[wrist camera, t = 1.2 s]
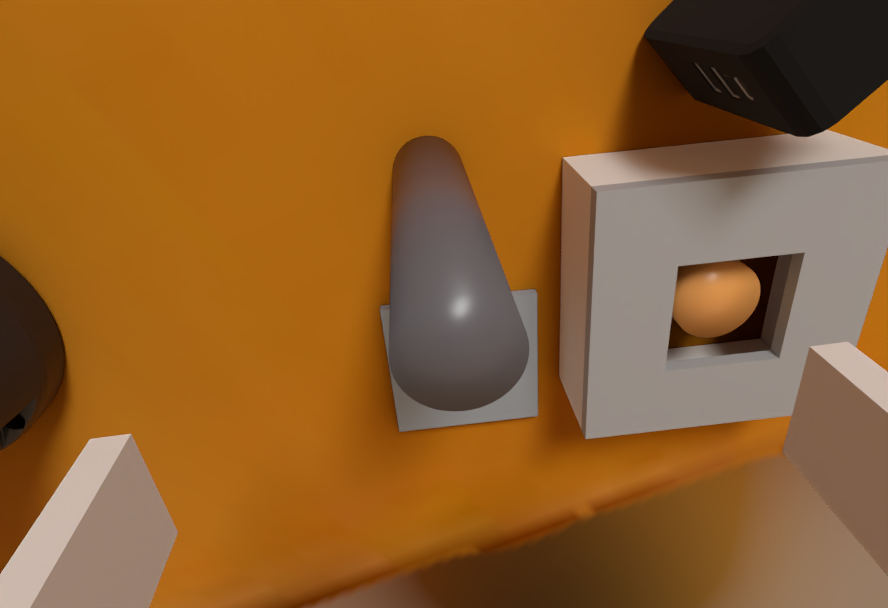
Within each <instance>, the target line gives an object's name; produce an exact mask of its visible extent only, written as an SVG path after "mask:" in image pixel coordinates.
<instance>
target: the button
mask: <svg viewBox="0 0 888 608" xmlns="http://www.w3.org/2000/svg"><path fill="white" fill-rule="evenodd" d="M759 298H760V282H759V280H758V277H757V276H756V274H755V273H754V272H753V271H752V270H751V269H750V268H749V267H748V266H746V265H745V264H744V263H742V262H741V261H740V260H731V261H722V262H713V263H703V264H694V265H685V266H678V272H677V280H676V288H675V296H674V304H673V312H672V317H673V319H674V320H675V321H676V322H677V323H678V325H679V326H680V327H681V328H682V329H683V330H684V331H685V332H687V333H688V334H690V335H693V336H696V337H701V338H712V337H718V336H721V335H724V334H727V333H729V332H731V331H733V330H734V329H736V328H738V327H739V326H740V325H742V324H743V323H744V322H745V321H746V320H747V319H748V318H749V317H750V316H751V314H752V313H753V311H754V310H755V308H756V306H757V304H758V301H759Z"/></svg>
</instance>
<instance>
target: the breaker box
mask: <svg viewBox="0 0 888 608" xmlns="http://www.w3.org/2000/svg"><path fill="white" fill-rule="evenodd" d="M887 247H888V149H885V148H882V147H879V146H876V145H873V144H870V143H867V142H864V141H861V140H858V139H855V138H851V137H848V136H845V135H842V134H839V133H836V132H833V131H830V130H825V131H824V132H821V133H818V134H816V135H813V136H810V137H796V136H793V135H791V134H782V135H773V136H763V137H754V138H744V139H735V140H725V141H715V142H706V143H696V144H687V145H677V146H667V147H658V148H648V149H639V150H629V151H619V152H610V153H600V154H591V155H581V156H572V157H563V163H562V226H561V290H560V354H559V378H560V380H561V382H562V385H563V387H564V389H565V392H566V394H567V397H568V399H569V401H570V404H571V406H572V408H573V411H574V413H575V416H576V418H577V420H578V423H579V425H580V427H581V430H582V432H583V435H584V437H585V439H592V438H601V437H609V436H618V435H627V434H635V433H644V432H653V431H661V430H670V429H679V428H687V427H696V426H705V425H713V424H722V423H730V422H739V421H748V420H756V419H765V418H774V417H782V416H791V415H792V413H793V409H794V405H795V401H796V397H797V393H798V390H799V386H800V382H801V378H802V374H803V370H804V366H805V363H806V359H807V355H808V351H809V347H810V346H818V345H825V344H833V343H841V342H849V343H850V344H852V345H853V346H854V347H856V345H857V342H858V339H859V336H860V333H861V330H862V326H863V323H864V320H865V317H866V314H867V311H868V307H869V304H870V301H871V298H872V295H873V292H874V288H875V285H876V282H877V279H878V276H879V273H880V269H881V266H882V263H883V260H884V257H885V254H886V250H887ZM777 255H778V259H777V264H776V269H775V273H774V278H773V282H772V287H771V292H770V296H769V301H768V306H767V310H766V315H765V319H764V324H763V329H762V333H761V338H760V339H752V340H743V341H734V342H725V343H716V344H707V345H698V346H690V347H681V348H672V349H668V344H669V336H670V328H671V320H672V312H673V304H674V296H675V288H676V280H677V272H678V266H685V265H694V264H703V263H713V262H722V261H731V260H740V259H749V258H758V257H768V256H777Z"/></svg>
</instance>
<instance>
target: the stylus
mask: <svg viewBox="0 0 888 608" xmlns="http://www.w3.org/2000/svg"><path fill="white" fill-rule="evenodd" d="M528 358H529V340H528V336H527V332H526V330H525V327H524V324H523V322H522V319H521V316H520V314H519V311H518V308H517V306H516V303H515V300H514V298H513V295H512V293H511V290H510V287H509V285H508V282H507V279H506V277H505V274H504V271H503V269H502V266H501V264H500V261H499V258H498V256H497V253H496V250H495V248H494V245H493V242H492V240H491V237H490V235H489V232H488V229H487V227H486V224H485V221H484V219H483V216H482V213H481V211H480V208H479V205H478V203H477V200H476V198H475V195H474V192H473V190H472V187H471V184H470V182H469V179H468V176H467V174H466V171H465V169H464V166H463V163H462V161H461V158H460V156H459V154H458V152H457V150H456V149H455V148H454V147H453V146H452V145H451V144H450V143H449V142H447V141H445V140H444V139H441V138H439V137H435V136H421V137H417V138H415V139H412V140H410V141H409V142H407V143H406V144H405V145H404V146H403V147H402V148H401V149H400V150H399V152H398V153H397V155H396V157H395V160H394V164H393V184H392V227H391V271H390V314H389V365H390V369H391V373H392V375H393V377H394V379H395V381H396V383H397V384H398V386H399V387H400V388H401V389H402V391H403V392H405V393H406V394H407V395H408V396H409V397H410V398H412V399H413V400H415V401H416V402H418V403H420V404H422V405H424V406H427V407H429V408H433V409H437V410H442V411H454V412H457V411H468V410H473V409H477V408H481V407H483V406H486V405H488V404H491V403H493V402H495V401H496V400H498V399H500V398H501V397H503V396H504V395H505V394H506V393H508V392H509V391H510V390H511V389H512V388H513V387H514V386H515V385H516V384H517V382H518V381H519V379H520V378H521V376H522V374H523V373H524V371H525V368H526V366H527V363H528Z"/></svg>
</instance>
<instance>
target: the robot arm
mask: <svg viewBox="0 0 888 608" xmlns="http://www.w3.org/2000/svg"><path fill="white" fill-rule="evenodd" d="M63 371H64V352H63V346H62V342H61V338H60V335H59V332H58V329H57V326H56V324H55V322H54V319H53V317H52V316H51V314H50V312H49V310H48V308H47V307H46V305H45V304H44V302H43V301H42V299H41V298H40V296H39V295H38V294H37V292H36V291H35V290H34V289H33V287H32V286H31V285H30V284H29V283H28V282H27V281H26V279H25V278H24V277H23V276H22V275H21V274H20V273H19V272H18V271H17V270H16V269H14V268H13V267H12V266H11V265H10V264H9V263H8V262H7V261H5V260H4V259H3V258H2V257H0V451H1V450H2V449H4V448H6V447H7V446H9V445H10V444H12V443H13V442H15V441H16V440H17V439H18V438H20V437H21V436H22V435H23V434H24V433H25V432H26V431H27V430H28V429H29V428H30V427H31V426H32V425H33V424H34V423H35V421H36V420H37V419H38V418H39V417H40V415H41V414H42V413H43V412H44V411H45V410H46V408H47V407H48V406H49V405H50V404H51V402H52V401H53V399H54V398H55V396H56V394H57V392H58V390H59V387H60V385H61V381H62V377H63ZM782 452H783V453H784V454H785V455H786V457H787V458H788V459H789V460H790V461H791V462H792V464H793V465H794V466H795V467H796V468H797V470H798V471H799V472H800V473H801V474H802V475H803V477H805V479H806V480H807V481H808V482H809V484H810V485H811V486H812V487H813V488H814V490H815V491H816V492H817V493H818V494H819V495H820V496H821V498H822V499H823V500H824V501H825V503H826V504H827V505H828V506H829V507H830V508H831V510H832V511H833V512H834V513H835V514H836V515H837V517H838V518H839V519H840V520H841V521H842V522H843V524H844V525H845V526H846V527H847V528H848V530H849V531H850V532H851V533H852V534H853V535H854V537H855V538H856V539H857V540H858V541H859V543H860V544H861V545H862V546H863V547H864V548H865V550H866V551H867V552H868V553H869V554H870V555H871V557H872V558H873V559H874V560H875V561H876V563H877V564H878V565H879V566H880V567H881V568H882V569H883V571H884V572H885V573H886V574H887V576H888V372H887V371H886V370H884V369H883V368H882V367H880V366H879V365H878V364H876V363H875V362H874V361H873V360H871V359H870V358H869V357H867V356H866V355H865V354H863V353H862V352H861V351H860V350H858V349H857V348H856V347H854V346H853V345H852V344H850V343H849V342H841V343H833V344H825V345H818V346H810V347H809V351H808V355H807V359H806V363H805V366H804V370H803V374H802V378H801V382H800V386H799V390H798V393H797V397H796V401H795V405H794V409H793V413H792V417H791V420H790V424H789V428H788V432H787V436H786V440H785V444H784V447H783V451H782ZM177 534H178V531H177V529H176V527H175V525H174V523H173V521H172V519H171V517H170V515H169V512H168V510H167V508H166V506H165V504H164V502H163V500H162V498H161V496H160V494H159V491H158V489H157V487H156V485H155V483H154V481H153V479H152V477H151V475H150V473H149V470H148V468H147V466H146V464H145V462H144V460H143V458H142V456H141V454H140V452H139V449H138V447H137V445H136V443H135V441H134V439H133V437H132V435H131V434H126V435H118V436H110V437H102V438H95V439H90V440H89V441H88V443H87V444H86V446H85V447H84V449H83V450H82V452H81V453H80V455H79V457H78V458H77V460H76V461H75V463H74V464H73V466H72V467H71V469H70V470H69V472H68V473H67V475H66V476H65V478H64V479H63V481H62V482H61V484H60V485H59V487H58V488H57V490H56V491H55V493H54V494H53V496H52V497H51V499H50V500H49V502H48V503H47V505H46V506H45V508H44V509H43V511H42V512H41V514H40V515H39V517H38V518H37V520H36V521H35V523H34V524H33V526H32V527H31V529H30V530H29V532H28V533H27V535H26V536H25V538H24V539H23V541H22V542H21V544H20V545H19V547H18V548H17V550H16V551H15V553H14V554H13V556H12V557H11V559H10V560H9V562H8V563H7V565H6V566H5V568H4V569H3V571H2V572H1V574H0V608H149V606H150V603H151V600H152V598H153V595H154V593H155V590H156V588H157V585H158V582H159V580H160V577H161V575H162V572H163V570H164V567H165V564H166V562H167V559H168V557H169V554H170V552H171V549H172V546H173V544H174V541H175V539H176V536H177Z"/></svg>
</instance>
